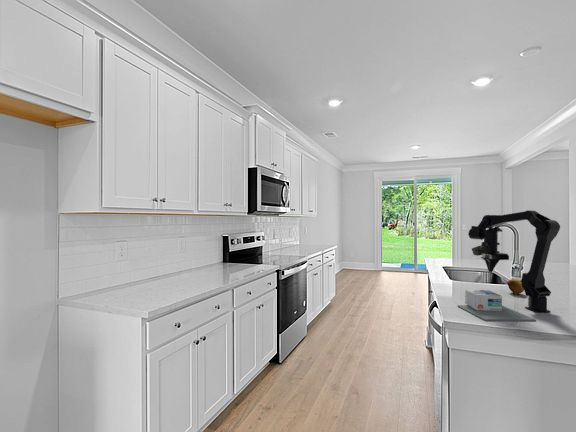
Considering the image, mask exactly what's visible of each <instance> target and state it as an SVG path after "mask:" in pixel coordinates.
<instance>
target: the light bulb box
mask: <svg viewBox="0 0 576 432" xmlns="http://www.w3.org/2000/svg"><path fill="white" fill-rule="evenodd" d="M464 296H465V299H464V305H469V306H470V307H472V308H474V309H475V310H481V311H502V306H503V303H502V302H503V299H502V298H503V297H502V295H500V293H496V292H493V291H491V290H488V289H487V290H485V289H465V295H464Z"/></svg>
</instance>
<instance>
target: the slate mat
mask: <svg viewBox="0 0 576 432" xmlns="http://www.w3.org/2000/svg"><path fill="white" fill-rule="evenodd" d="M457 308H460V309H462V310H464V311H466V312H467V313H469V314H471V315H473V316H475V317H477V318H479V319H480V320H482V321H484V322H537V319H536V318H533V317H531V316H528V315H526V314H524V313H521V312H519V311H517V310H514V309H511V308H509V307H506V306H504V305H502V311H481V310H475V309H474V308H472V307H470V306H469V305H467V304H457Z"/></svg>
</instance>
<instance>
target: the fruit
mask: <svg viewBox="0 0 576 432" xmlns="http://www.w3.org/2000/svg"><path fill="white" fill-rule="evenodd" d="M521 280H522V279H519V278H518V277H517V278H516V277H515V278H511V279H509V280H508V281H507V282H506V284H507V286H508V289H509V290H510V292H512V294H515V295H519V294H521V293H523V292H525V291H524V289H523V287H522V286H521V283H522V282H520V281H521Z"/></svg>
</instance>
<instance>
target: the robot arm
mask: <svg viewBox="0 0 576 432" xmlns="http://www.w3.org/2000/svg"><path fill="white" fill-rule="evenodd" d="M521 221H527V222H529V224H530V225H531V226H532V227H534V228H535V236H536V244H535V247H534V252H533V256H532V260H531V264H530V267H529V271H528V272H523V273H522V275H521V279H520V280H521V281H520V282H522V283H521V286H522V287H523V289H524V291H523V292H524V293H525V296H526V297H528V298H527V300H528V303H527V305H528V306H525V307H524V308H525V309H527V310H530V311H533V312H535V313H551V310H549V309H548V297H550V296H551V294H552V292H551V290H550V289H549V288H548V287H547V285H545V283H546V282H545V281H546V278H545V276H544V271H545V269H546V264H547V263H546V262H547V260H548V256H549V251H550V248H551V245H552V242H553V240H554V239H555V238H557V235H558V233H559V232H560V230H561V225H560V223H559V222H558V221H557V220H554V219H551V218H550V217H547V216H545V215H543V214H541V213H540V212H538V211H536V210H528V209H527V210H524V211H519V212H512V213H507V214H502V215H501V214H485V215H483V217H482V218H481V221H480V222H479V224H478V225H471V227H470V229H469V231H468V233H467V235H468V237H469V238H470V239H471V240H479V241H480V240H481V241H482V240H483V241H482V242H481V245H478V246H475V247H472V248H471V251H472V254H473V255H474V256H477V257H478V256H480V259H482V260H484V262H485V264H486V267H487V270H488V272H489V273H493V271H494V270H495V267H496V266H497V264H498V263H499V261H504V260H505V261H510V255H509V254H508V253H505V252H500V251H499V250H498V248H499V247H498V246H500V245H501V243H500V242H499V241H498V240H499V239H498V235H499V233H498V232H500V233H501V232H503V230H502V229H501V228H500V226H502V225H504V224H507V223H513V222H521Z"/></svg>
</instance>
